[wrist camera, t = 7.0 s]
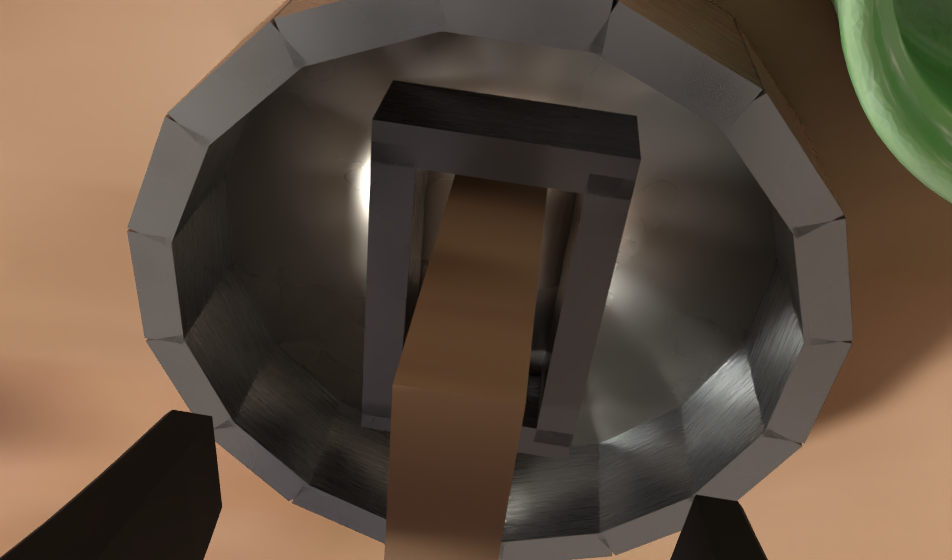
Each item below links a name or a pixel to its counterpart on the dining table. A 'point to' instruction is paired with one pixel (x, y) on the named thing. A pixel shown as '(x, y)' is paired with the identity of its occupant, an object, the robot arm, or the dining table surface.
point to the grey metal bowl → (561, 263)
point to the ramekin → (904, 79)
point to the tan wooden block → (465, 376)
